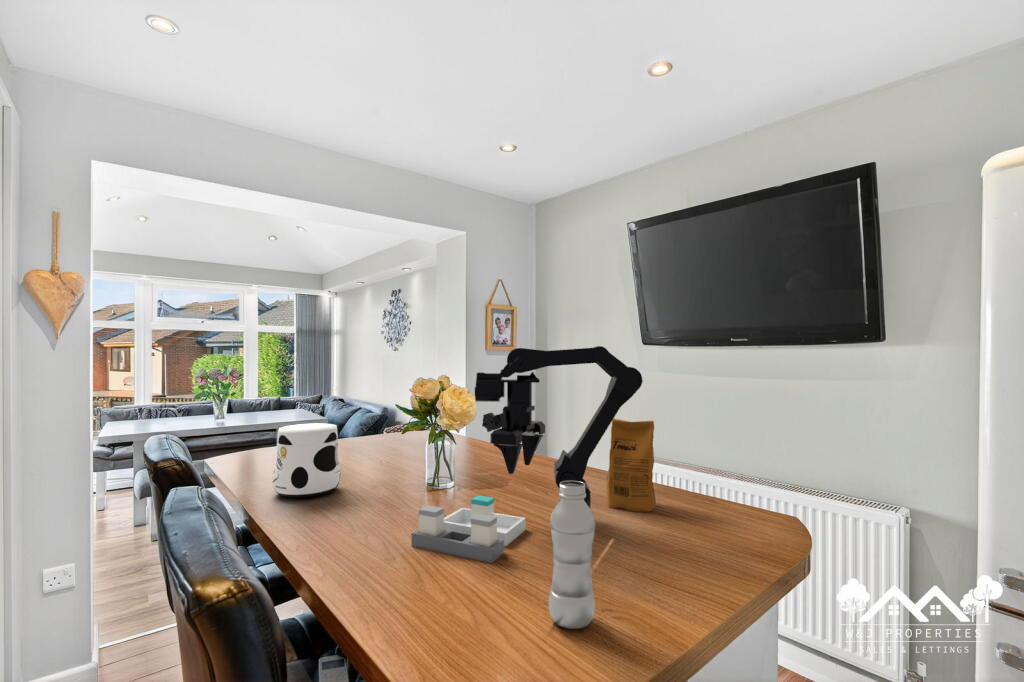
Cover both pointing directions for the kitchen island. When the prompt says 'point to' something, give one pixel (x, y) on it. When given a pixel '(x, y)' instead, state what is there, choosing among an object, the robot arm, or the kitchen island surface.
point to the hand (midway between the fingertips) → (519, 469)
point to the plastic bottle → (572, 558)
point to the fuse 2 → (484, 530)
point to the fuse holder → (458, 545)
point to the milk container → (306, 460)
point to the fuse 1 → (431, 520)
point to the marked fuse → (482, 506)
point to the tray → (506, 524)
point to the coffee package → (631, 466)
